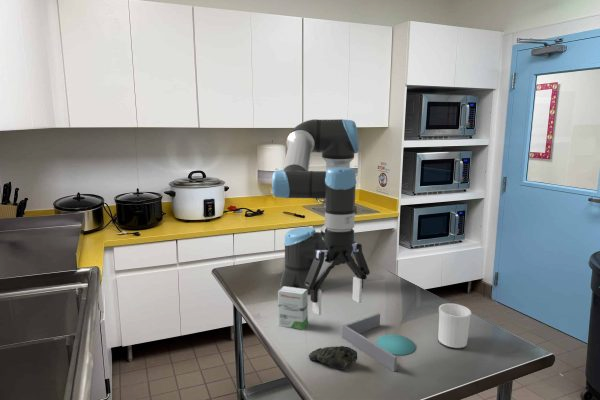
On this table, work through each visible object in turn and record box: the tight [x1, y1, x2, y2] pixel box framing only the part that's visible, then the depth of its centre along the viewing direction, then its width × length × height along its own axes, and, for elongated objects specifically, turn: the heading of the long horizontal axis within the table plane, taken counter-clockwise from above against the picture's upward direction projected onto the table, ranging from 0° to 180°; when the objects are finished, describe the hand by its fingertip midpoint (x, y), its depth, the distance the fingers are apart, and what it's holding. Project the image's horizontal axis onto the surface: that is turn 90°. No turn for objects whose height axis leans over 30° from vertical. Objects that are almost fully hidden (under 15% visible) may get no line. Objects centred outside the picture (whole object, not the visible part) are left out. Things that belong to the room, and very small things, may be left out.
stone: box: [308, 345, 358, 370], centre depth 112 cm, size 7×13×5 cm, turn 70°
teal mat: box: [376, 333, 416, 356], centre depth 122 cm, size 11×11×1 cm
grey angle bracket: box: [341, 312, 398, 372], centre depth 121 cm, size 21×15×4 cm
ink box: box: [277, 286, 309, 330], centre depth 132 cm, size 9×5×12 cm, turn 71°
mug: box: [437, 302, 472, 350], centre depth 123 cm, size 11×9×10 cm
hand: (337, 307), depth 110 cm, fingers open, 13 cm apart
